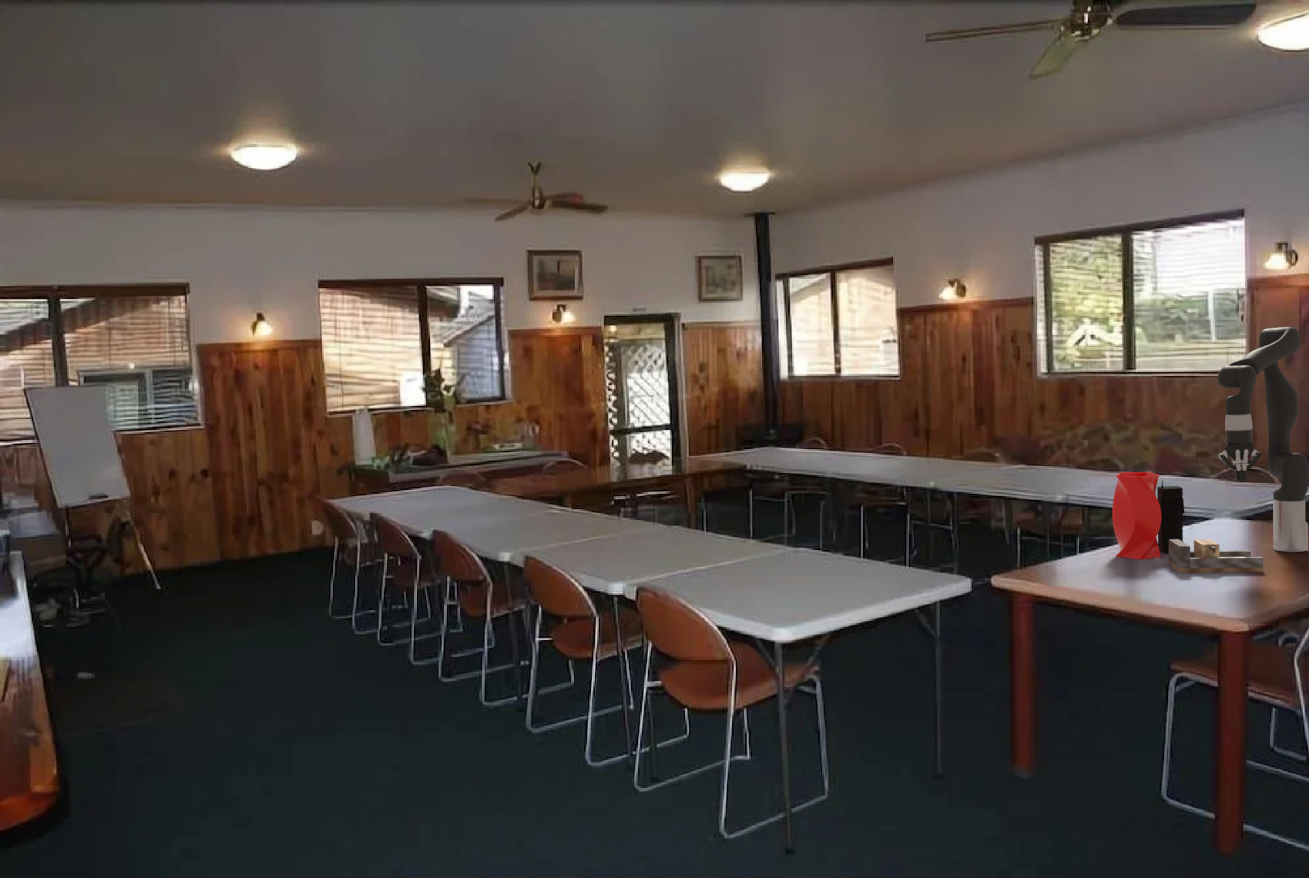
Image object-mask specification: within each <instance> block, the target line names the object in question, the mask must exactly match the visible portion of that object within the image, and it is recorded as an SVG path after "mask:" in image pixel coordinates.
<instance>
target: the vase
mask: <svg viewBox="0 0 1309 878" xmlns="http://www.w3.org/2000/svg"><path fill="white" fill-rule="evenodd" d="M1115 477H1116V478H1117V482H1116V485H1115V490H1114V495H1113V501H1112V509H1111V510H1112V512H1111V514H1112V526H1113V531H1114V534H1115V537H1116V541H1117V543H1118V545H1119V548H1120V551H1119V552H1118V553H1117V554H1116V555H1115V557H1119V558H1127V559H1133V560H1146V559H1147V560H1149V559H1152V558H1153V559H1154V558H1155V559H1156V558H1161V557H1162V555H1161V552H1160V551H1159V547H1158V532H1159V529H1160V524H1161V509H1160V505H1159V502H1158V496H1157V495H1156V491H1157V487H1158V486H1157V485H1158V480H1159V477H1160V474H1157V473H1153V472H1151V471H1134V472H1133V471H1125V472H1124V471H1123V472H1122V471H1121V472H1119V473H1117V474H1115Z"/></svg>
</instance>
